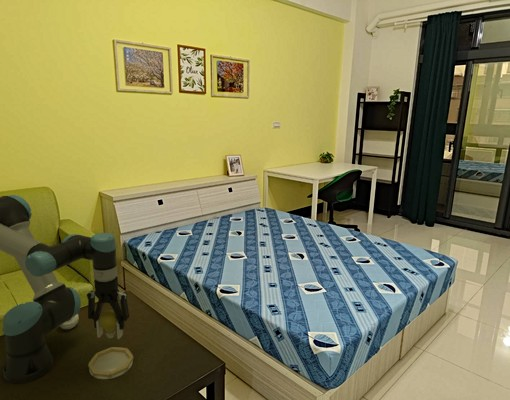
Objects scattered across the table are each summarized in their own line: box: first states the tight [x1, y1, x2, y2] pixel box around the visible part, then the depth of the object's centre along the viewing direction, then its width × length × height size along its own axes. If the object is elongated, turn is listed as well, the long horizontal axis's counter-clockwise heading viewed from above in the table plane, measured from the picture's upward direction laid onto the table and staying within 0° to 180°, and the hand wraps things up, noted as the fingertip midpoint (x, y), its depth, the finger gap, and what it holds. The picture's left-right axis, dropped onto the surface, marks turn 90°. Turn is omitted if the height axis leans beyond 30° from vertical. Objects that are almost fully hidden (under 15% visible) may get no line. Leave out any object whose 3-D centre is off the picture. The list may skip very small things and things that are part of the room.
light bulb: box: [99, 309, 118, 339], centre depth 128 cm, size 7×7×10 cm
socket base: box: [87, 346, 134, 380], centre depth 131 cm, size 15×15×2 cm
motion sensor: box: [59, 313, 80, 330], centre depth 151 cm, size 8×8×8 cm
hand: (110, 335), depth 128 cm, fingers closed on light bulb, 7 cm apart
